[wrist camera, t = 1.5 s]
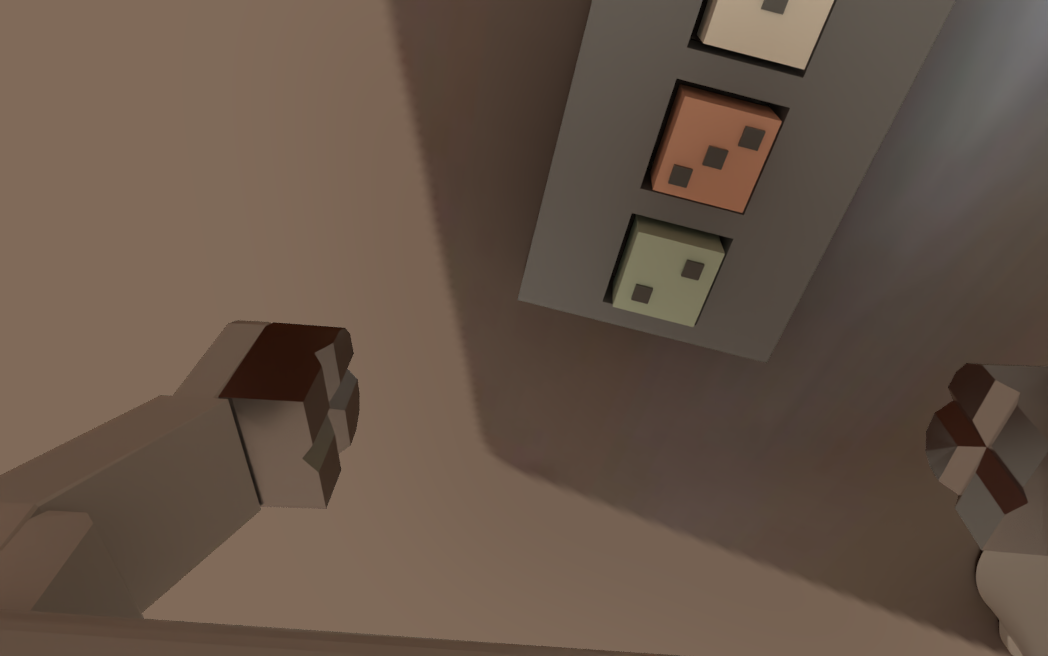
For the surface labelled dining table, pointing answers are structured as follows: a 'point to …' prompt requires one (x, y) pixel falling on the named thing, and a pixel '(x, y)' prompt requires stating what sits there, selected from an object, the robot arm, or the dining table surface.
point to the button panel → (782, 185)
